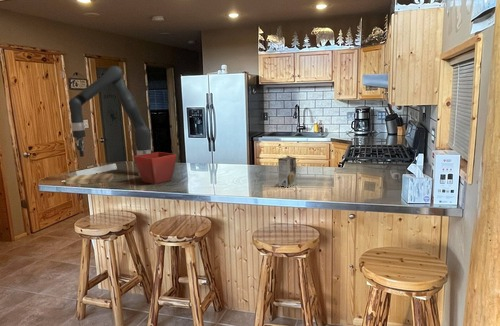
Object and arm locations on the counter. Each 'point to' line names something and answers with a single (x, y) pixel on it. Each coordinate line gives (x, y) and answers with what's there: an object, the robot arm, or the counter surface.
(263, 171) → the counter surface
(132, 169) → the counter surface
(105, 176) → the wooden block
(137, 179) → the counter surface
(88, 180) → the oak plank
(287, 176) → the coffee box
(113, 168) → the decorative molding
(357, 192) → the counter surface
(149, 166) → the plant pot
